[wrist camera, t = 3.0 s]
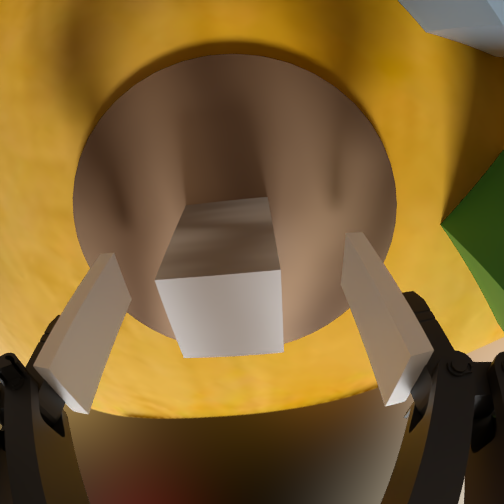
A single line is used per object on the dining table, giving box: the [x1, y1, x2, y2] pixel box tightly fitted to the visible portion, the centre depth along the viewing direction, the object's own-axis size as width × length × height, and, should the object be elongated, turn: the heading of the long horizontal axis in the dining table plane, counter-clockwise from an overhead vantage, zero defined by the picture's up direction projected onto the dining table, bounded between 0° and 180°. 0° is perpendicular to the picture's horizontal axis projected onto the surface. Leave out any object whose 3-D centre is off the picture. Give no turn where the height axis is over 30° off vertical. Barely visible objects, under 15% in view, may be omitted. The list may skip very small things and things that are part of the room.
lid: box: [73, 54, 397, 358], centre depth 13 cm, size 18×18×7 cm
